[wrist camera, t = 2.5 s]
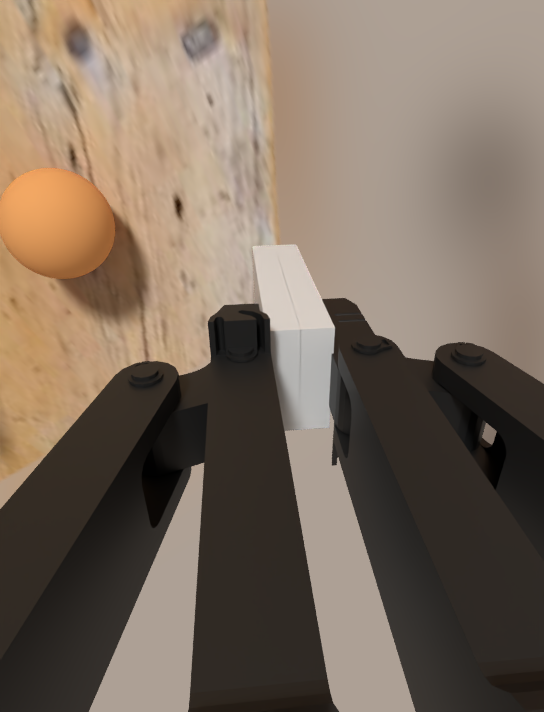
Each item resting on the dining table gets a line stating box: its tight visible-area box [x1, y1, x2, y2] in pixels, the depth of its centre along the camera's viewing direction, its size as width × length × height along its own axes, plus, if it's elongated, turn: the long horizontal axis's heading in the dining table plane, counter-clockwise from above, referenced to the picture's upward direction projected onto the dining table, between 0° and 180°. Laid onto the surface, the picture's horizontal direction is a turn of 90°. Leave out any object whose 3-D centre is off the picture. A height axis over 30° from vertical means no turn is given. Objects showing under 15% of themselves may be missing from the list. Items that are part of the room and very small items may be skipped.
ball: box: [0, 168, 115, 279], centre depth 24 cm, size 6×6×6 cm
